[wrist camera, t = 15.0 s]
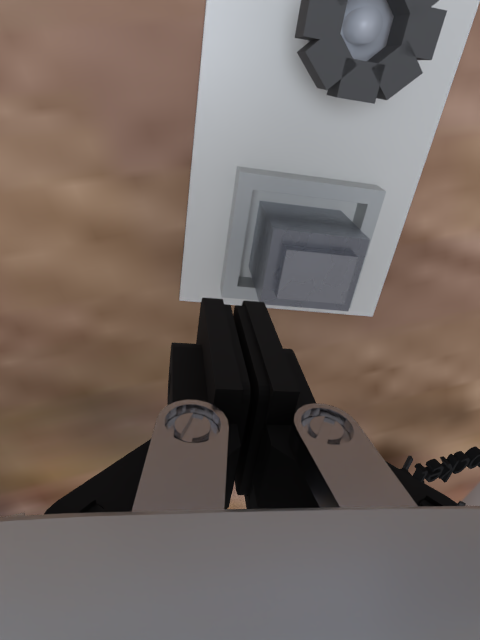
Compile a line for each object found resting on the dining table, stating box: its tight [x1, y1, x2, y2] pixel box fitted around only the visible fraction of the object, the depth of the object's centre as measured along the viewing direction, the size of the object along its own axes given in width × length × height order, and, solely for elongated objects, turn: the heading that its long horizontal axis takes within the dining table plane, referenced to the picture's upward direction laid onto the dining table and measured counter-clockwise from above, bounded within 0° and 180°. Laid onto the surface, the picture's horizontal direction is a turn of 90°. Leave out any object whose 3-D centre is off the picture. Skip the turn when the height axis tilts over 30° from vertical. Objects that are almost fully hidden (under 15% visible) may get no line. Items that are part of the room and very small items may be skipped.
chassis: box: [179, 0, 480, 317], centre depth 28 cm, size 24×16×6 cm, turn 172°
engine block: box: [249, 201, 370, 311], centre depth 30 cm, size 5×6×7 cm
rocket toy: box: [400, 447, 480, 506], centre depth 42 cm, size 14×6×23 cm
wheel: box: [295, 0, 447, 104], centre depth 22 cm, size 7×7×2 cm
